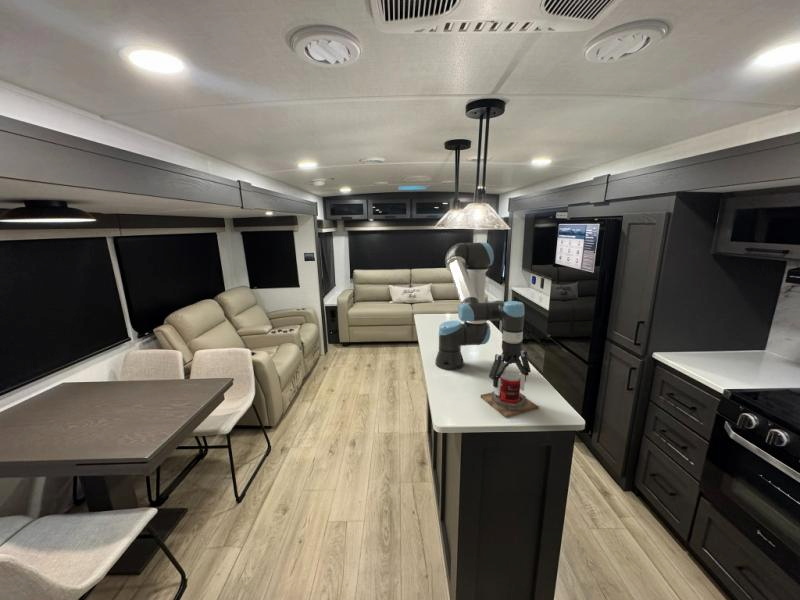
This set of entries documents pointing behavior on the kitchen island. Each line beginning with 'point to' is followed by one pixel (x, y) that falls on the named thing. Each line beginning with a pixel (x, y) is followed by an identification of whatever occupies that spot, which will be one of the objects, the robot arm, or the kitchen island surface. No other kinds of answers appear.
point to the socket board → (507, 411)
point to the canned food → (510, 387)
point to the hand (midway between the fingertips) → (509, 391)
